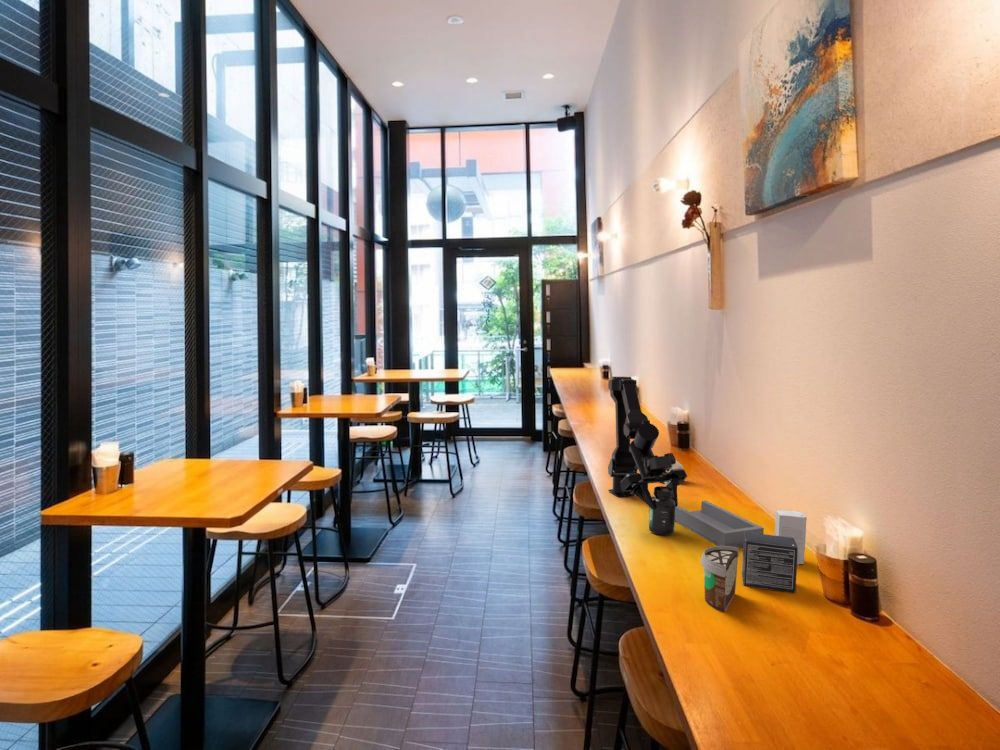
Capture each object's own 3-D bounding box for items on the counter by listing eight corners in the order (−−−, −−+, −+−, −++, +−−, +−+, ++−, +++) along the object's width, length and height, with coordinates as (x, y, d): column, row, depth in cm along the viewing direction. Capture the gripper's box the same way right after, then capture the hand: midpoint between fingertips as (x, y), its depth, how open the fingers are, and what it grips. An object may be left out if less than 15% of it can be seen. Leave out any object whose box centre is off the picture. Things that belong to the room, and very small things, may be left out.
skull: (645, 477, 205) (655, 453, 209) (655, 491, 211) (665, 468, 215) (675, 483, 196) (685, 458, 201) (685, 498, 202) (695, 474, 207)
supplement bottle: (647, 533, 154) (649, 491, 153) (649, 524, 161) (651, 483, 159) (673, 537, 152) (675, 494, 151) (674, 528, 158) (676, 486, 157)
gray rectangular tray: (666, 516, 168) (666, 503, 168) (702, 511, 172) (703, 498, 172) (724, 549, 145) (725, 534, 144) (765, 543, 149) (766, 528, 148)
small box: (791, 581, 128) (794, 536, 127) (796, 594, 122) (799, 547, 121) (741, 573, 131) (743, 530, 130) (743, 586, 125) (745, 540, 124)
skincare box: (799, 558, 140) (802, 511, 139) (804, 565, 136) (807, 517, 135) (772, 555, 141) (775, 509, 140) (776, 562, 137) (779, 515, 136)
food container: (707, 583, 126) (709, 540, 125) (736, 591, 123) (739, 546, 122) (691, 606, 116) (693, 559, 115) (722, 615, 113) (725, 567, 112)
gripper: (627, 445, 154) (648, 497, 145) (685, 441, 160) (708, 490, 151) (611, 465, 163) (630, 516, 154) (667, 460, 169) (688, 509, 159)
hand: (665, 507), depth 154 cm, fingers closed on supplement bottle, 7 cm apart
